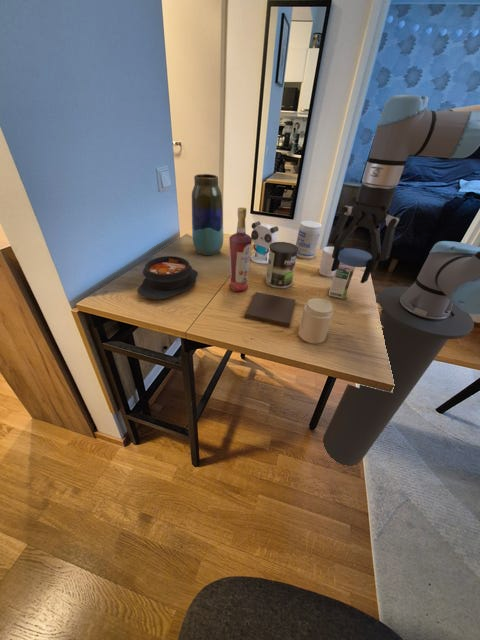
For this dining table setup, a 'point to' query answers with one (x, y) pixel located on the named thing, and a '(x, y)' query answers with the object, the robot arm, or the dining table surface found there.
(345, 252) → the jar lid
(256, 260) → the panda figurine
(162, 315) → the dining table surface
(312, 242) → the supplement tub
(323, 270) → the white cup
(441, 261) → the robot arm
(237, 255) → the liquor
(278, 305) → the serving board
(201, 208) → the vase
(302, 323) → the jar
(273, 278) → the coffee can
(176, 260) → the casserole
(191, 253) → the dining table surface
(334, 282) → the syrup box
